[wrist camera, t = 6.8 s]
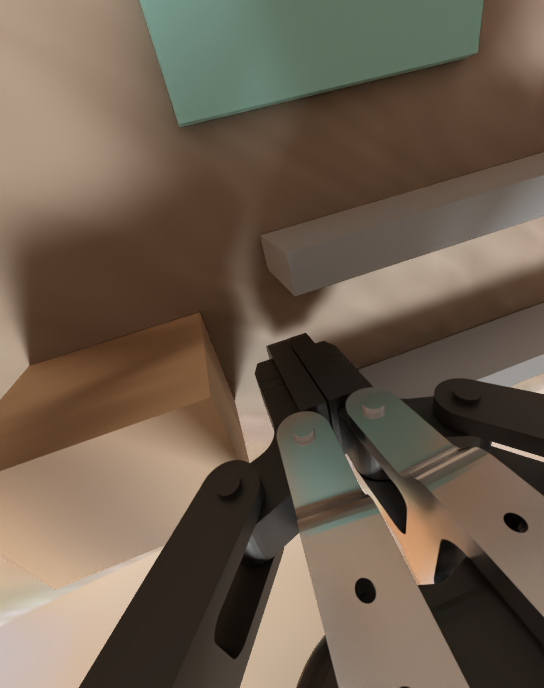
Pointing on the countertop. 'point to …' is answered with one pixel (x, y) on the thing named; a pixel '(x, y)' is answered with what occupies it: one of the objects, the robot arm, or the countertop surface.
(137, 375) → the light brown block
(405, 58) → the teal mat
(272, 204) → the countertop surface
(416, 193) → the chute
